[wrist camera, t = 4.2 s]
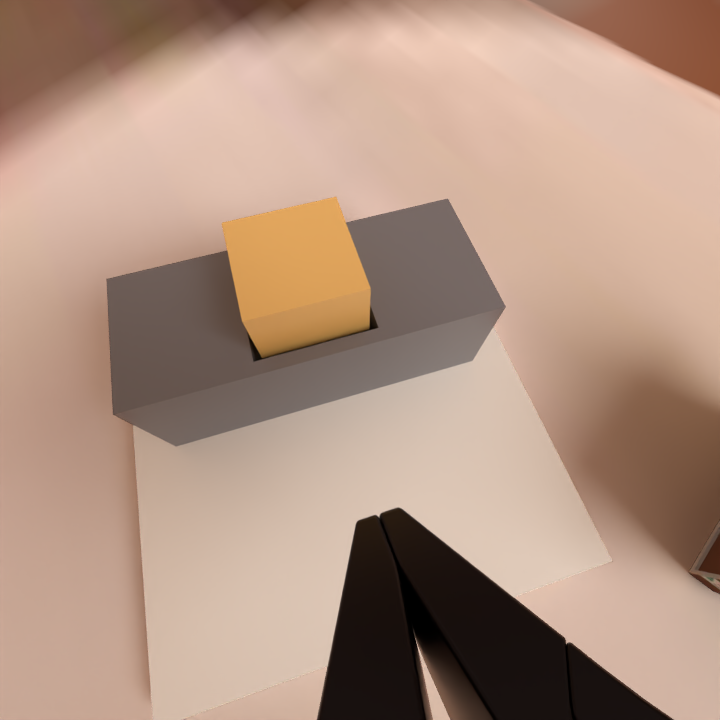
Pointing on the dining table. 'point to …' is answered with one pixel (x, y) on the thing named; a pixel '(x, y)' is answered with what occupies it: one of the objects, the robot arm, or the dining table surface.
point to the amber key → (297, 277)
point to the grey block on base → (323, 455)
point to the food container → (709, 562)
